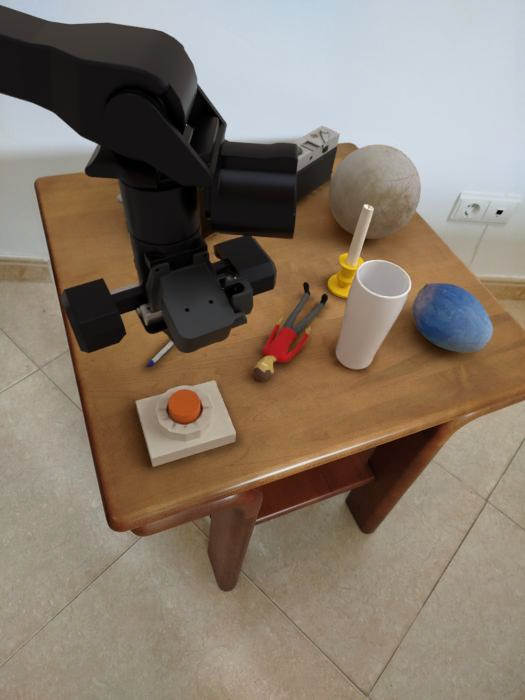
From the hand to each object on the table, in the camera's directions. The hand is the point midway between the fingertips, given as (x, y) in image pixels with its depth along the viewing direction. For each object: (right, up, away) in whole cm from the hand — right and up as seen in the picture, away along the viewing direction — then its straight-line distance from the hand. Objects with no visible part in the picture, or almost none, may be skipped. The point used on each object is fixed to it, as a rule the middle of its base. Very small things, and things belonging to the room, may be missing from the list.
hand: (181, 347), depth 50 cm
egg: (+34, +2, +23) cm, 41 cm away
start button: (-1, -7, +6) cm, 9 cm away
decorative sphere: (+26, +21, +37) cm, 50 cm away
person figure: (+12, +1, +19) cm, 23 cm away
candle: (+21, +10, +27) cm, 36 cm away
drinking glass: (+21, -1, +18) cm, 28 cm away
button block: (-1, -10, +9) cm, 13 cm away
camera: (+15, +32, +44) cm, 56 cm away
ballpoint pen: (-4, +1, +17) cm, 17 cm away
